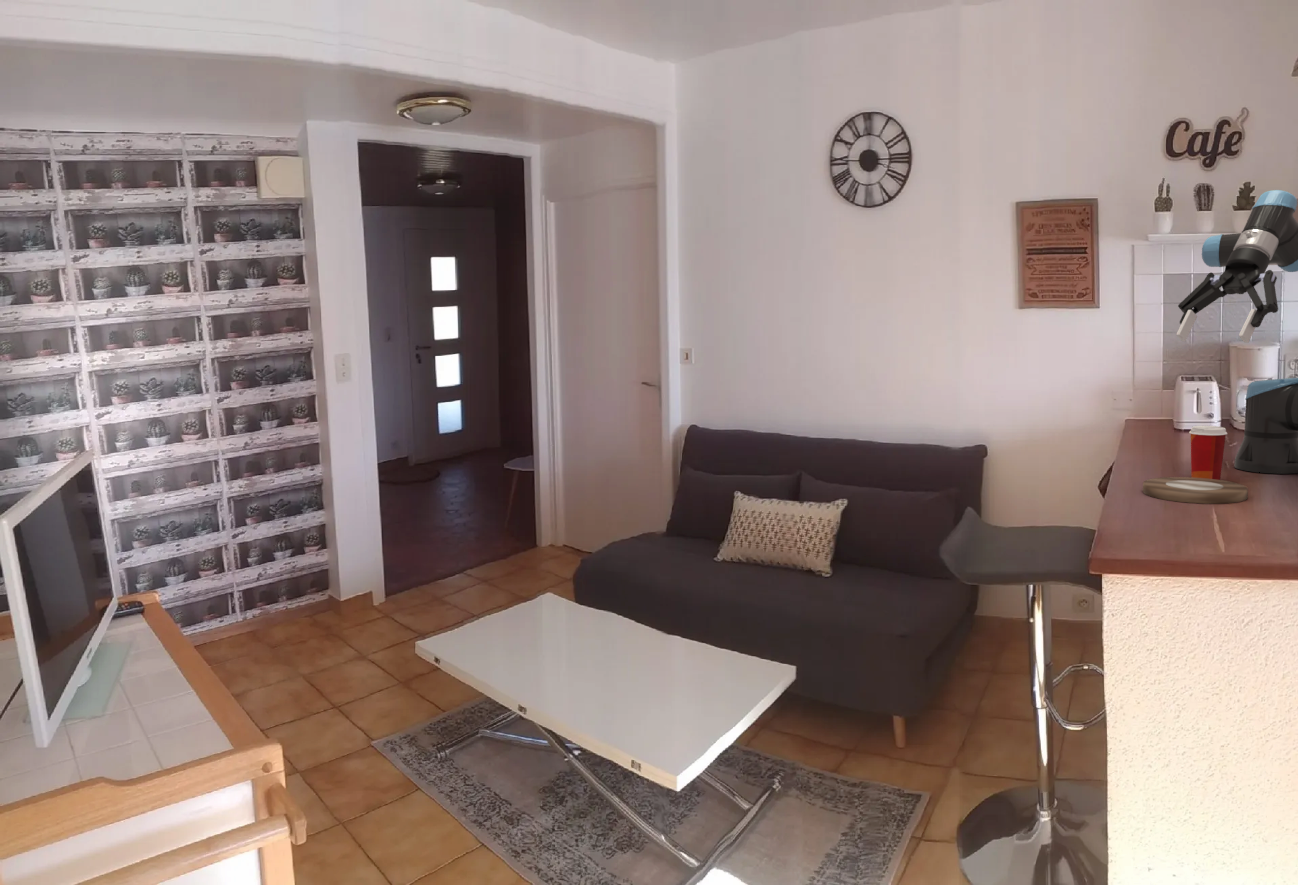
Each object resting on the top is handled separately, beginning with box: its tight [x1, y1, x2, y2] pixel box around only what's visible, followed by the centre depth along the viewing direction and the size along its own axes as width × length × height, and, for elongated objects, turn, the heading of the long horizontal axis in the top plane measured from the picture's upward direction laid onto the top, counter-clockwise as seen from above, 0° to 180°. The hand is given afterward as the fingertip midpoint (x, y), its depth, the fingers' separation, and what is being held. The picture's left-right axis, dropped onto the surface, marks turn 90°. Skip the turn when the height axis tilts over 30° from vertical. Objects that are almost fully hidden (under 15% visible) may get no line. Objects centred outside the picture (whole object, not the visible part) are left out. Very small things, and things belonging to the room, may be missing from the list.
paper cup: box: [1188, 425, 1228, 480], centre depth 215 cm, size 8×8×14 cm
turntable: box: [1142, 476, 1249, 505], centre depth 203 cm, size 20×20×2 cm
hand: (1211, 338), depth 196 cm, fingers open, 13 cm apart
